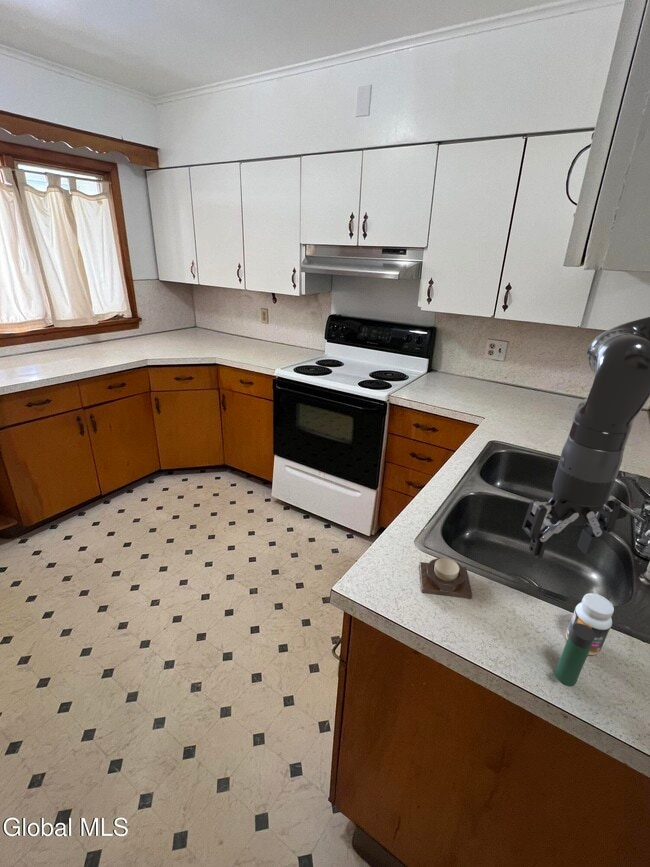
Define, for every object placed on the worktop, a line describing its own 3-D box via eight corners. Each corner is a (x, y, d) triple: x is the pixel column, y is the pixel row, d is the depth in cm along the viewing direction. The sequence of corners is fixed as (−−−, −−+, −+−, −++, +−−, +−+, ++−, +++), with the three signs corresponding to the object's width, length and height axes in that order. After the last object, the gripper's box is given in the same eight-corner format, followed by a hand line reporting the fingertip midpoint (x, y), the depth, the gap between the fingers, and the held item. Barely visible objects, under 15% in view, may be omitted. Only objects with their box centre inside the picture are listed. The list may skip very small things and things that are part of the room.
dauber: (571, 669, 73) (590, 624, 68) (579, 687, 70) (598, 641, 65) (552, 667, 73) (569, 621, 69) (558, 684, 71) (576, 638, 66)
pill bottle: (565, 649, 77) (580, 609, 72) (564, 625, 81) (578, 586, 77) (601, 661, 74) (619, 621, 70) (598, 636, 79) (615, 597, 75)
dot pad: (456, 565, 92) (457, 559, 91) (459, 582, 87) (461, 576, 87) (432, 563, 92) (433, 556, 92) (434, 579, 88) (436, 573, 87)
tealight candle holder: (465, 571, 94) (467, 560, 93) (471, 599, 87) (473, 588, 85) (419, 565, 95) (421, 555, 94) (421, 593, 88) (423, 582, 87)
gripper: (559, 484, 58) (533, 573, 65) (651, 477, 60) (615, 565, 67) (528, 458, 65) (507, 541, 72) (611, 452, 67) (583, 534, 74)
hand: (559, 552), depth 70 cm, fingers open, 8 cm apart
